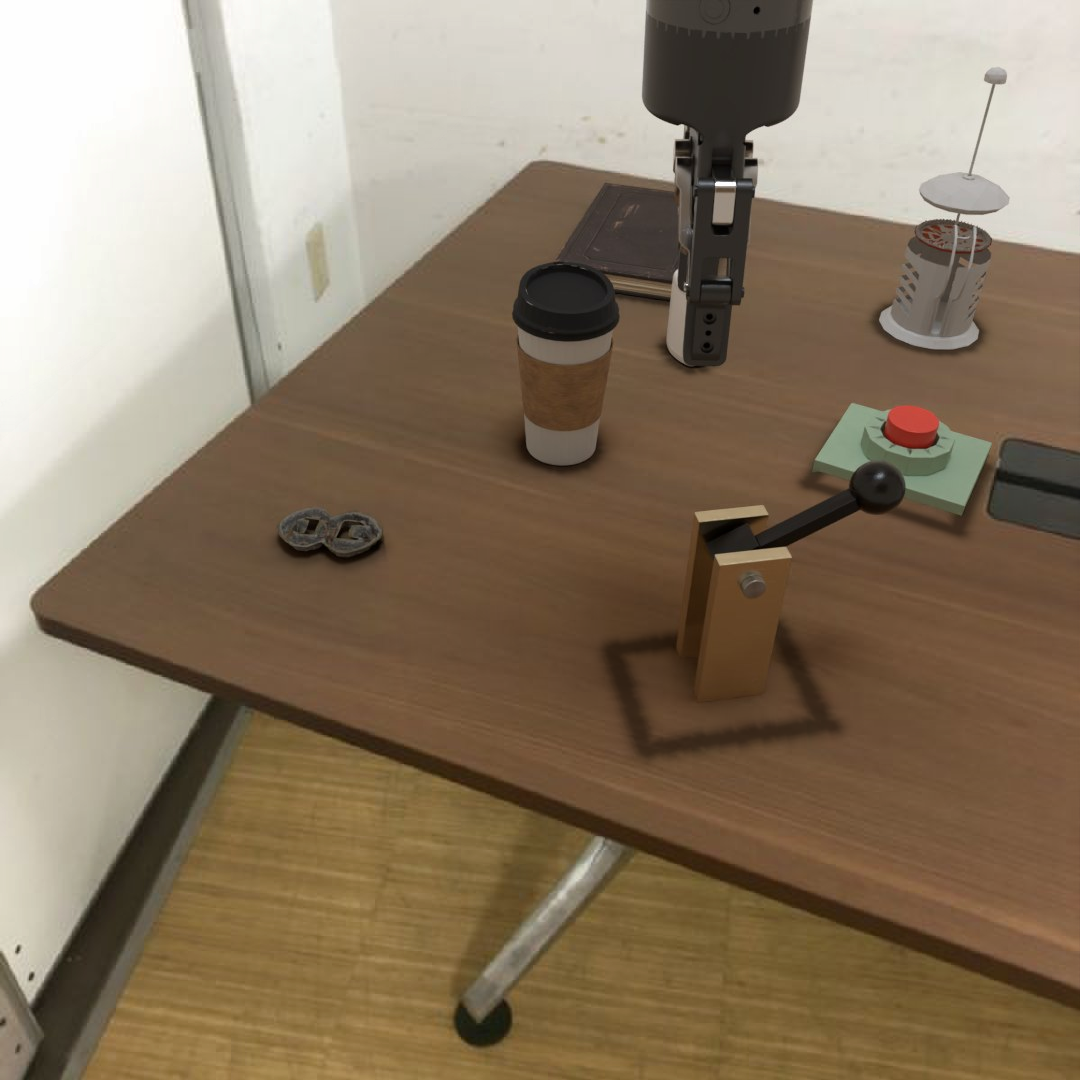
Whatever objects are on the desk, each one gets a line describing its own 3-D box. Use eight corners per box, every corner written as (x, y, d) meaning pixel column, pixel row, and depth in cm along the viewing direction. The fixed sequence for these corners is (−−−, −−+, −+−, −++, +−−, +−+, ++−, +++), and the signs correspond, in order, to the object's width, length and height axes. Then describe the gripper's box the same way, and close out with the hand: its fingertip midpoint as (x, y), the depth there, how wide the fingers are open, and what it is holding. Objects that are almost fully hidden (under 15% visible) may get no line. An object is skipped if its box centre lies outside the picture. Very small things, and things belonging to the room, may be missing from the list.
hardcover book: (551, 283, 118) (552, 263, 117) (603, 200, 135) (604, 182, 134) (700, 306, 115) (703, 285, 114) (735, 218, 132) (737, 199, 131)
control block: (985, 464, 94) (998, 424, 92) (957, 528, 87) (970, 487, 85) (846, 423, 99) (855, 384, 96) (810, 481, 92) (818, 441, 89)
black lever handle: (897, 477, 68) (884, 440, 66) (920, 509, 65) (907, 472, 63) (718, 566, 70) (700, 534, 68) (734, 601, 67) (716, 568, 65)
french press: (973, 307, 116) (1047, 55, 100) (987, 363, 107) (1072, 96, 91) (876, 298, 117) (934, 46, 101) (882, 352, 108) (948, 87, 92)
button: (939, 432, 91) (944, 413, 90) (927, 456, 89) (932, 437, 88) (891, 418, 93) (895, 400, 92) (877, 441, 90) (882, 423, 89)
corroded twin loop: (289, 513, 87) (287, 502, 86) (390, 523, 86) (389, 512, 86) (269, 554, 83) (267, 543, 82) (374, 565, 82) (373, 554, 82)
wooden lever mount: (778, 626, 78) (810, 479, 70) (827, 722, 72) (868, 572, 64) (612, 646, 77) (625, 498, 68) (646, 747, 70) (664, 595, 62)
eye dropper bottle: (662, 365, 106) (674, 246, 98) (666, 336, 110) (678, 220, 102) (709, 370, 105) (724, 250, 98) (711, 340, 109) (726, 224, 102)
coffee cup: (598, 414, 99) (608, 256, 89) (620, 470, 92) (633, 306, 83) (504, 422, 98) (504, 262, 88) (520, 479, 91) (521, 313, 82)
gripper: (833, 47, 45) (782, 393, 55) (794, -31, 56) (757, 269, 67) (647, 45, 46) (630, 389, 56) (644, -32, 57) (630, 266, 67)
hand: (699, 324), depth 61 cm, fingers open, 8 cm apart
